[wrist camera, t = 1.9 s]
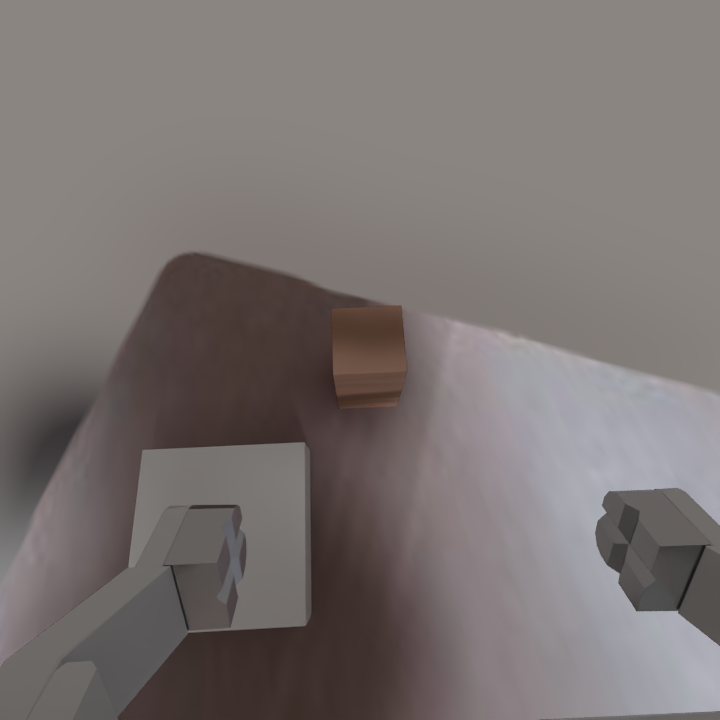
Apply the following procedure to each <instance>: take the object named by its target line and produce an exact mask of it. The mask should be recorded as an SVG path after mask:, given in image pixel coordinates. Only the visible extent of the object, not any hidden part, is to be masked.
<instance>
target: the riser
mask: <svg viewBox="0 0 720 720" xmlns="http://www.w3.org/2000/svg"><path fill="white" fill-rule="evenodd" d="M192 505H238V506H240V509H241V514H242V521H241V525H240V530H241V531H243V532H244V533H245V537H246V550H247V554H246V564H245V570H244V575H243V579H242V580H241V581H240V582H239V583H238V584H237V585H236V589H237V595H238V600H237V604H236V608H235V612H234V616H233V620H232V624H231V628H220V629H206V630H192V631H188V633H193V632H211V631H228V630H246V629H263V628H281V627H298V626H306V624H307V623H308V621H309V619H310V617H311V615H312V605H311V499H310V450H309V448H308V447H307V445H306V444H305V442H297V443H276V444H256V445H235V446H214V447H194V448H173V449H152V450H142V458H141V466H140V475H139V483H138V491H137V499H136V507H135V515H134V523H133V531H132V540H131V548H130V556H129V564H128V568H132V567H135V566H136V564H137V562H138V560H139V558H140V556H141V554H142V552H143V550H144V548H145V546H146V544H147V543H148V541H149V539H150V537H151V535H152V533H153V531H154V529H155V527H156V525H157V523H158V521H159V519H160V517H161V515H162V513H163V511H164V510H165V509H166V508H167V507H169V506H192Z"/></svg>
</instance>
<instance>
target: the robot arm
mask: <svg viewBox="0 0 720 720" xmlns="http://www.w3.org/2000/svg"><path fill="white" fill-rule="evenodd" d="M602 506H603V508H604V509H605V511H606V512H607V513H606V514H605V515H604V516H603V517H601V518H600V519H599V520H598V522H597V527H596V532H595V534H596V542H597V547H598V549H599V552H600V554H601V556H602V558H603V559H604V561H605V563H606V564H607V565H608V566H609V567H611V568H612V569H614V570H615V571H617V572H618V573H620V575H619V582H618V583H619V585H620V586H621V588H622V589H623V591H624V592H625V594H626V596H627V597H628V599H629V600H630V602H631V603H632V605H633V606H634V608H635V609H636V611H679V612H678V613H679V614H680V615H681V616H682V617H684V618H685V619H686V620H688V621H689V622H690V623H691V624H693V625H694V626H695V627H696V628H698V629H699V630H700V631H702V632H703V633H704V634H705V635H707V636H708V637H709V638H710V639H712V640H713V641H714V642H716V643H717V644H718V645H719V646H720V525H718V524H717V523H716V522H715V521H714V520H713V519H712V518H711V517H710V516H709V515H708V514H707V513H706V512H705V511H704V510H703V509H702V508H701V507H700V506H699V505H698V504H697V503H696V502H695V501H694V500H693V499H692V498H691V497H690V496H689V495H688V494H687V493H686V492H685V491H683V490H681V489H679V488H669V489H654V490H632V491H609V492H608V493H607V494H606V495H605V497H604V500H603V504H602ZM241 521H242V514H241V509H240V506H238V505H192V506H169V507H167V508H166V509H165V510H164V511H163V513H162V515H161V517H160V519H159V521H158V523H157V525H156V527H155V529H154V531H153V533H152V535H151V537H150V539H149V541H148V543H147V544H146V546H145V548H144V550H143V552H142V554H141V556H140V558H139V560H138V562H137V564H136V566H135V567H132V568H126V569H125V570H124V571H123V572H121V573H120V574H119V575H117V576H116V577H115V578H113V579H112V580H111V581H109V582H108V583H107V584H105V585H104V586H103V587H102V588H100V589H99V590H98V591H96V592H95V593H94V594H92V595H91V596H90V597H88V598H87V599H86V600H84V601H83V602H82V603H81V604H79V605H78V606H77V607H75V608H74V609H73V610H71V611H70V612H69V613H67V614H66V615H65V616H63V617H62V618H61V619H60V620H58V621H57V622H56V623H54V624H53V625H52V626H50V627H49V628H48V629H46V630H45V631H44V632H43V633H41V634H40V635H39V636H37V637H36V638H35V639H33V640H32V641H31V642H29V643H28V644H27V645H25V646H24V647H23V648H22V649H20V650H19V651H18V652H16V653H15V654H14V655H12V656H11V657H10V658H8V659H7V660H6V661H4V662H3V664H2V665H1V667H0V720H118V718H117V717H118V716H119V715H120V714H121V713H122V711H123V710H124V709H125V708H126V707H127V705H128V704H129V703H130V702H131V701H132V699H133V698H134V697H135V696H136V695H137V694H138V692H139V691H140V690H141V689H142V688H143V686H144V685H145V684H146V683H147V682H148V681H149V679H150V678H151V677H152V676H153V675H154V673H155V672H156V671H157V670H158V669H159V668H160V666H161V665H162V664H163V663H164V662H165V660H166V659H167V658H168V657H169V656H170V654H171V653H172V652H173V651H174V650H175V649H176V647H177V646H178V645H179V644H180V643H181V641H182V640H183V639H184V638H185V637H186V636H187V634H188V631H192V630H206V629H220V628H231V624H232V620H233V616H234V612H235V608H236V604H237V600H238V595H237V589H236V585H237V584H238V583H239V582H240V581H241V580H242V579H243V575H244V570H245V564H246V554H247V550H246V537H245V533H244V532H243V531H241V530H240V525H241ZM541 720H720V711H715V712H693V713H671V714H650V715H628V716H606V717H584V718H563V719H541Z"/></svg>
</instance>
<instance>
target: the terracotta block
mask: <svg viewBox="0 0 720 720" xmlns="http://www.w3.org/2000/svg"><path fill="white" fill-rule="evenodd" d="M331 316H332V350H333V376H334V383H335V389H336V395H337V401H338V407H339V409H345V408H367V407H388V406H397V404H398V400H399V397H400V394H401V391H402V387H403V384H404V381H405V377H406V374H407V362H406V351H405V341H404V330H403V319H402V308H401V306H377V307H354V308H331Z"/></svg>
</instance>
